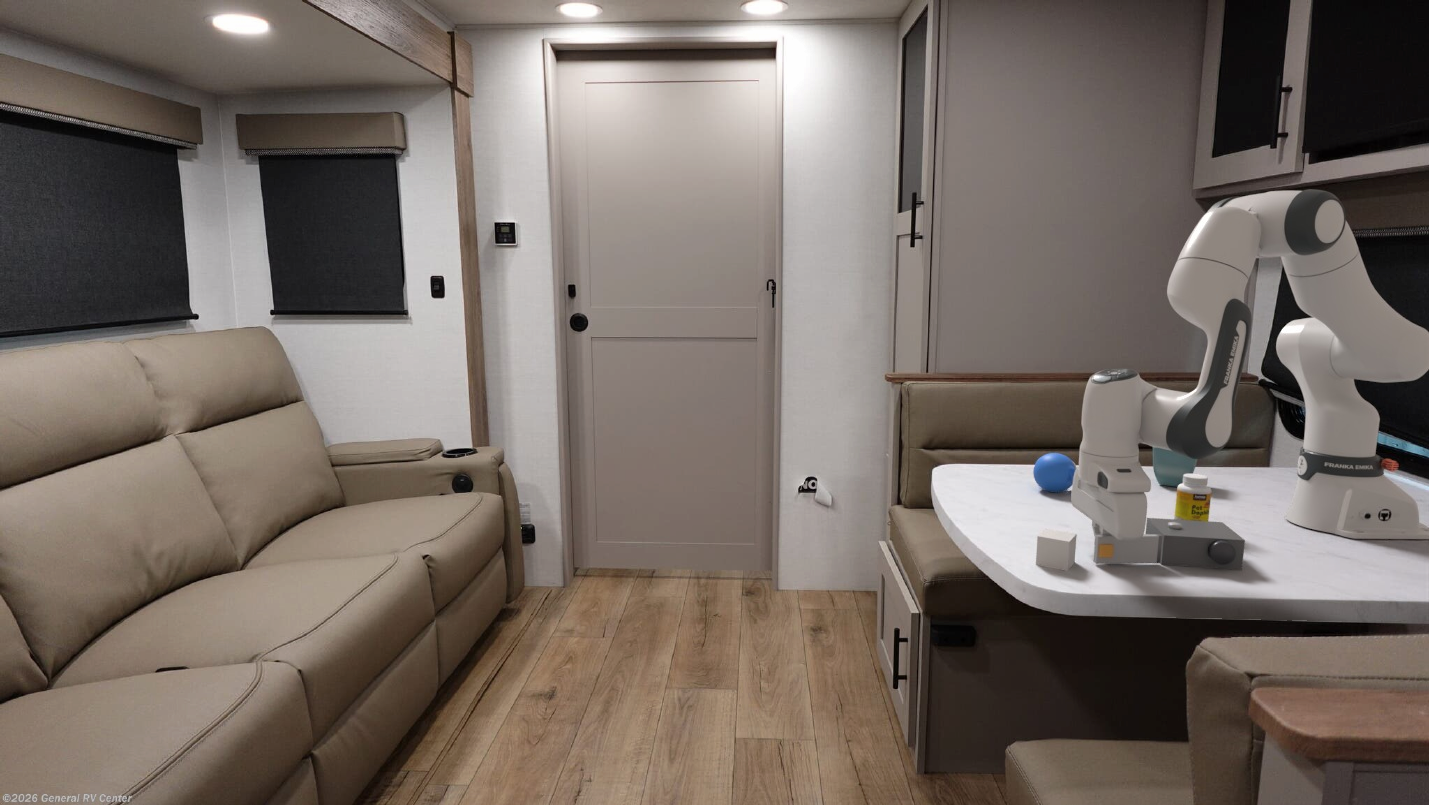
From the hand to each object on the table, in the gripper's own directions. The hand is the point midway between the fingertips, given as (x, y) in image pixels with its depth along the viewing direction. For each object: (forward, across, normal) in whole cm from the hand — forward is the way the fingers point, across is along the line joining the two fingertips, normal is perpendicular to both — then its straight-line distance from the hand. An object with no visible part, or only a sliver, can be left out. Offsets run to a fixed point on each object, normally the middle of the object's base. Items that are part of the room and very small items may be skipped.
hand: (1102, 549), depth 144 cm
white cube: (+2, +2, -8) cm, 9 cm away
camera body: (+2, -2, +16) cm, 16 cm away
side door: (+1, +3, +3) cm, 4 cm away
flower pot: (+3, -51, +37) cm, 63 cm away
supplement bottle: (+3, -18, +24) cm, 30 cm away
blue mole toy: (+3, -45, +10) cm, 46 cm away
